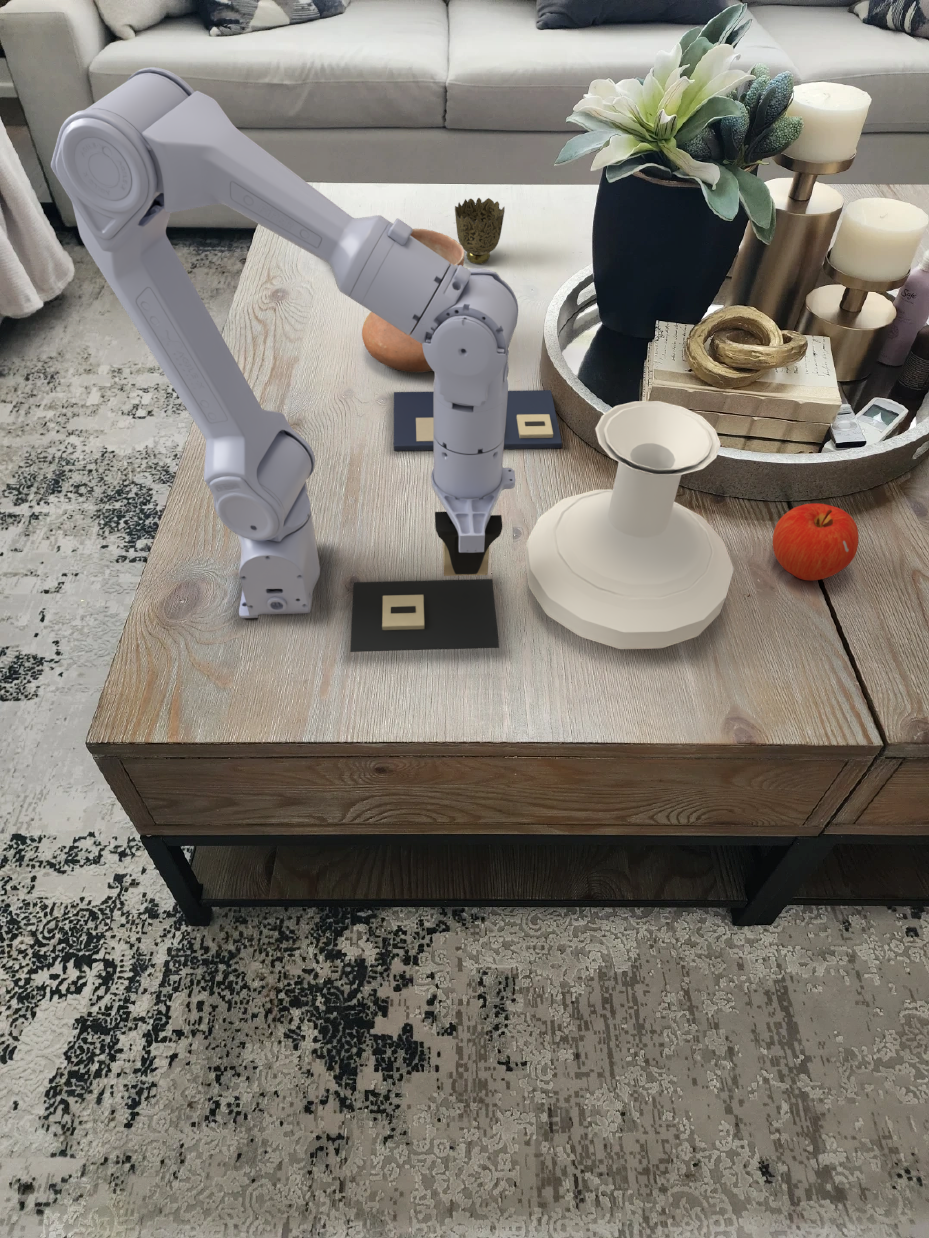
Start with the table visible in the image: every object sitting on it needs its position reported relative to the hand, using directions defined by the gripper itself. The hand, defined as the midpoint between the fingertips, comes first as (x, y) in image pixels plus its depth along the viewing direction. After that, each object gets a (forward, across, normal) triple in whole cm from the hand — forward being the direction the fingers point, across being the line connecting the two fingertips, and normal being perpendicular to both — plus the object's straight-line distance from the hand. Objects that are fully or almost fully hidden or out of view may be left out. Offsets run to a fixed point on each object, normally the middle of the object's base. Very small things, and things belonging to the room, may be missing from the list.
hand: (464, 554), depth 78 cm
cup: (+8, +73, -6) cm, 74 cm away
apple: (+8, +5, -36) cm, 37 cm away
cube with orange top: (+1, 0, 0) cm, 1 cm away
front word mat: (+8, -1, +4) cm, 9 cm away
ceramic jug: (+8, +47, +4) cm, 48 cm away
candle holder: (+8, +2, -16) cm, 18 cm away
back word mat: (+8, +31, -3) cm, 32 cm away
